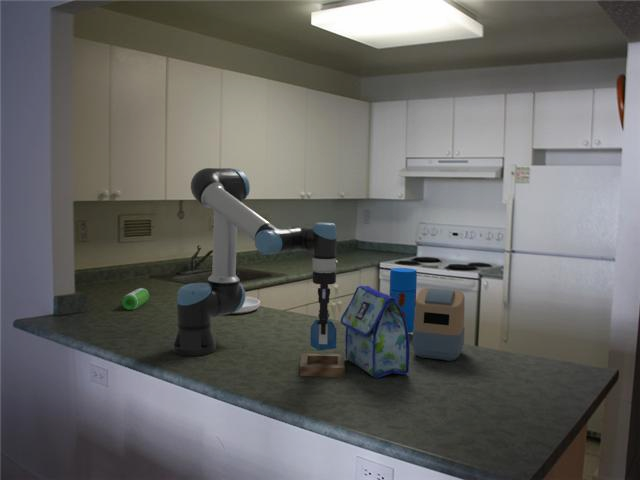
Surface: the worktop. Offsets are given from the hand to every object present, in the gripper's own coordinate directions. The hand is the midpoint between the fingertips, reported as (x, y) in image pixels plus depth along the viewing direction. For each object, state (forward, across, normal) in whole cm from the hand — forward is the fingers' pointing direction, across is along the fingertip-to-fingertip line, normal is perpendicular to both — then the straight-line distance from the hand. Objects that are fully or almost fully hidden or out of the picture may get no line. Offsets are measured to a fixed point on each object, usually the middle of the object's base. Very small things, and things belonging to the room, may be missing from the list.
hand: (323, 339), depth 197 cm
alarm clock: (+10, +19, -41) cm, 46 cm away
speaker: (+10, +85, +88) cm, 123 cm away
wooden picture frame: (+10, 0, 0) cm, 10 cm away
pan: (+10, +89, +50) cm, 103 cm away
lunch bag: (+10, +3, -17) cm, 20 cm away
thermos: (+10, +53, -32) cm, 63 cm away
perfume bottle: (+3, 0, 0) cm, 3 cm away
